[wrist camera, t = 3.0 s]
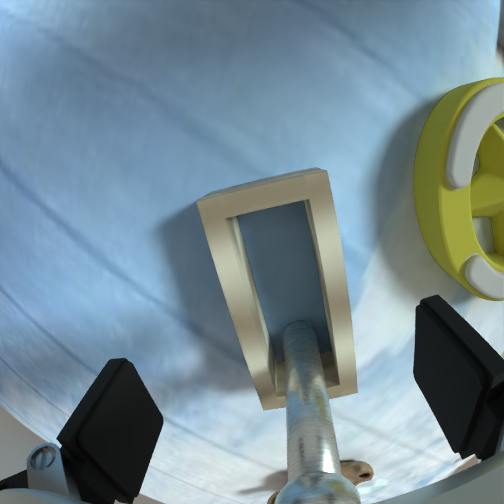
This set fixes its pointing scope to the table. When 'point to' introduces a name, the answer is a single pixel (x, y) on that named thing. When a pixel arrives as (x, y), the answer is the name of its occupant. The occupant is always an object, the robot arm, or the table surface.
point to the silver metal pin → (310, 426)
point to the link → (243, 286)
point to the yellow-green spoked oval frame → (464, 185)
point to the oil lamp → (347, 474)
